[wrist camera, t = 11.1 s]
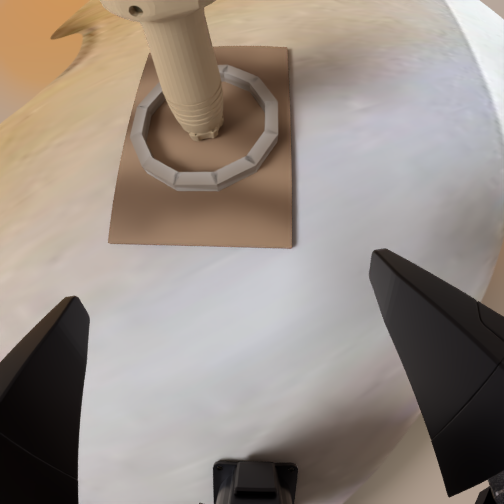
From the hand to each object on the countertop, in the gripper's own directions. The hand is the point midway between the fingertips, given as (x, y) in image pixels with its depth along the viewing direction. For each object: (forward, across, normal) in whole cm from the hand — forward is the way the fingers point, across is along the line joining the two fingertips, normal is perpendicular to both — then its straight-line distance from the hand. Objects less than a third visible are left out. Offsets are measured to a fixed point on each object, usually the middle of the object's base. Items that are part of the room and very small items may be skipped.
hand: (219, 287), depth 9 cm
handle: (+19, +1, 0) cm, 19 cm away
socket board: (+20, +1, 0) cm, 20 cm away
